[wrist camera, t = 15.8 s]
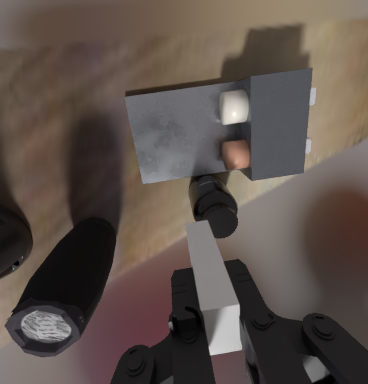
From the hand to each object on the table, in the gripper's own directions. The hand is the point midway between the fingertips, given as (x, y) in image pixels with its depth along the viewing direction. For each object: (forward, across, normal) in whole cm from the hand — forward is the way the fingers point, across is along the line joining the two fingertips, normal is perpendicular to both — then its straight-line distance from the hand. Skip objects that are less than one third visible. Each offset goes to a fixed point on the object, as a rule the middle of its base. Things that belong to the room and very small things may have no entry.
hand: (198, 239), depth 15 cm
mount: (+24, +6, +4) cm, 25 cm away
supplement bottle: (+25, +4, -7) cm, 26 cm away
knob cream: (+23, +14, +7) cm, 27 cm away
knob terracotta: (+23, +14, 0) cm, 26 cm away
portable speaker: (+25, -18, -12) cm, 33 cm away
